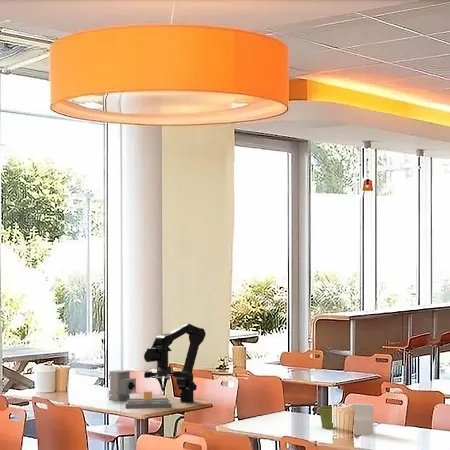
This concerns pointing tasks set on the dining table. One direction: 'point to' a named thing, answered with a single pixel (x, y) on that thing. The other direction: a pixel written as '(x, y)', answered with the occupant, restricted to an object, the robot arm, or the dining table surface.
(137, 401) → the panel
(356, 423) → the grey upright block
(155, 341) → the robot arm
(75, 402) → the dining table surface
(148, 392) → the toggle
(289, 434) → the dining table surface
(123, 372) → the circuit breaker
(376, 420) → the dining table surface
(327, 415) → the plant pot
